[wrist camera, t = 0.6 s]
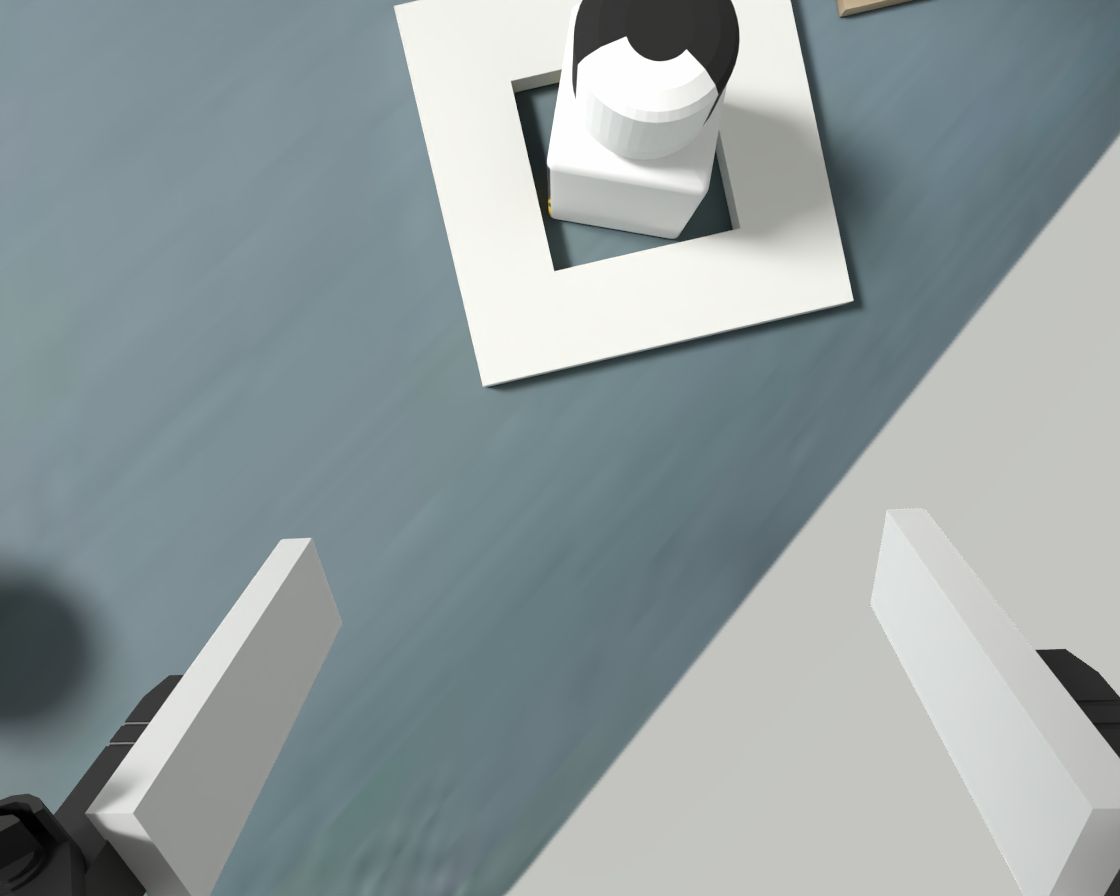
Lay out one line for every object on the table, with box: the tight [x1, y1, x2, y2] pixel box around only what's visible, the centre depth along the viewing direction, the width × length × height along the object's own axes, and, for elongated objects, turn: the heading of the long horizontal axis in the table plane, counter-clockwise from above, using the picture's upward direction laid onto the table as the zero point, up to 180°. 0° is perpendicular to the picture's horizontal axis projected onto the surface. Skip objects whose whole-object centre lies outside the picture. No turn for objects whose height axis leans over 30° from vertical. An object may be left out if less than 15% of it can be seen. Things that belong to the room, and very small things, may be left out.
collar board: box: [394, 0, 854, 387], centre depth 34 cm, size 20×20×1 cm
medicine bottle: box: [547, 0, 740, 239], centre depth 28 cm, size 7×7×12 cm
